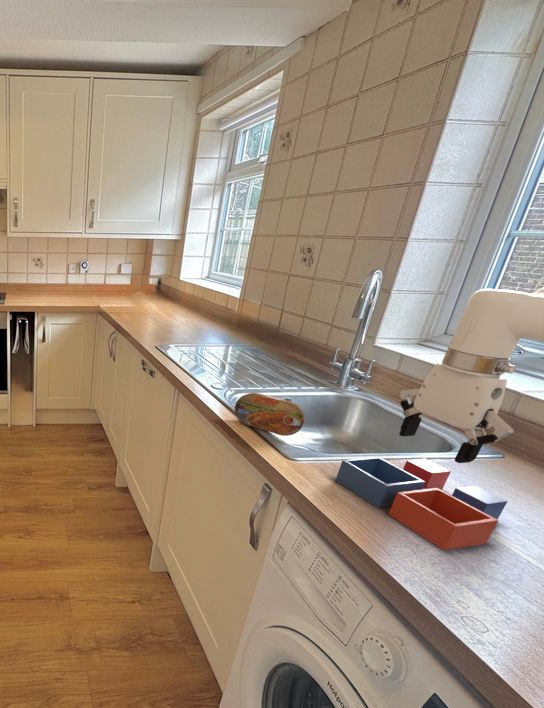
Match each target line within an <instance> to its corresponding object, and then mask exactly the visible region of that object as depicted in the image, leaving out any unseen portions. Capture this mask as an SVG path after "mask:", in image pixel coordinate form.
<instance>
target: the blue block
mask: <svg viewBox="0 0 544 708" xmlns="http://www.w3.org/2000/svg"><path fill="white" fill-rule="evenodd" d="M451 495H452V496H453V497H455V498H457V499H459V500H461V501H463V502H465V503H467V504H468V505H470V506H472V507H474V508H476V509H478V510H480V511H482V512H484V513H485V514H487V515H489V516H491V517H493V518H495V519H497V520H498V521H499V518H500V516H501V514H502V513H503V511H504V508H505V507H506V505H507V504H508V501H507V500H506V499H504V498H502V497H500V496H497V495H495V494H494V493H491V492H489V491H487V490H486V489H483V488H481V487H479V486H477V485H468V486H460V487H454V490H453V492H452V494H451Z"/></svg>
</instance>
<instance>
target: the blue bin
mask: <svg viewBox="0 0 544 708" xmlns="http://www.w3.org/2000/svg"><path fill="white" fill-rule="evenodd" d="M335 481H336V482H338V483H339V484H341V485H343V486H344V487H345V488H347V489H348V490H350V491H352V492H353V493H355V494H356V495H357V496H359V497H361V498H363V499H364V500H365V501H367V502H369V503H370V504H371V505H373V506H375V507H376V508H378V509H379V508H385V507H386V508H387V507H392V504H393V502H394V500H395V497H396V495H397V493H398V492H405V491H414V490H422V489H423V486H424V484H425V481H423V480H421V479H420V478H418V477H416V476H414V475H412V474H410V473H408V472H406V471H404V470H403V468H401V467H399V466H397V465H395V464H393V463H391V462H390V461H388V460H386V459H384V458H382V457H381V456H369V457H359V458H350V459H348V458H347V459H342V460H341V463H340V466H339V469H338V472H337V474H336V478H335Z"/></svg>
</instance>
